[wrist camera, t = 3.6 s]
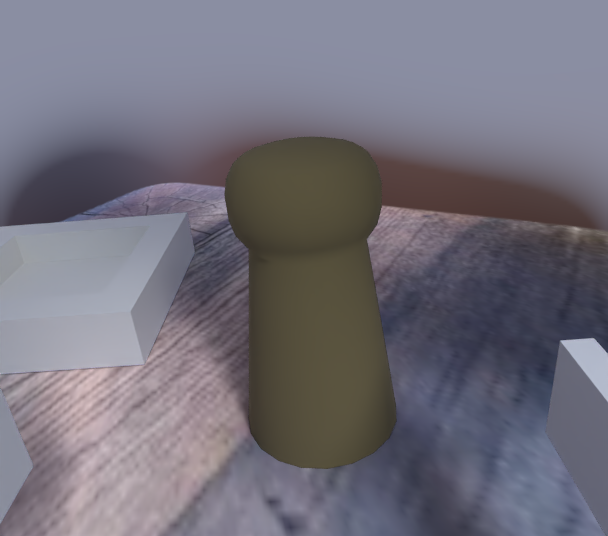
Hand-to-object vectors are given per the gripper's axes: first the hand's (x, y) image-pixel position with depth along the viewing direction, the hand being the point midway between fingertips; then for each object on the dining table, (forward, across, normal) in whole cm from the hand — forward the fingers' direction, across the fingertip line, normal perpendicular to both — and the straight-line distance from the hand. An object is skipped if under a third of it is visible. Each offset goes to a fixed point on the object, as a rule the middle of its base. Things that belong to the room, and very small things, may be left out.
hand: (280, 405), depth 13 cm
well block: (+18, -14, -6) cm, 23 cm away
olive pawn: (+7, +1, -7) cm, 10 cm away
